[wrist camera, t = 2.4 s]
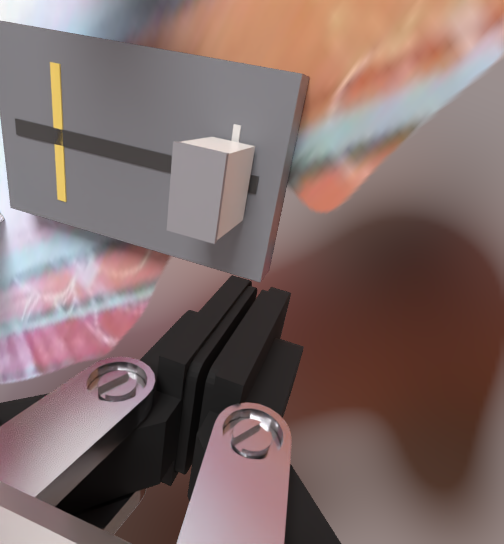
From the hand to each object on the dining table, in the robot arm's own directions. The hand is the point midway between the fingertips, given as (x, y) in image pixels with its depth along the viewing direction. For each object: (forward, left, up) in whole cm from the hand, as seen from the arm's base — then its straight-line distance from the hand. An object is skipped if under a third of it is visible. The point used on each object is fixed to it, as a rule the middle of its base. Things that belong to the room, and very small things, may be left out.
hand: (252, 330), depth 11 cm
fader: (+7, 0, -16) cm, 17 cm away
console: (+15, 0, -19) cm, 24 cm away
